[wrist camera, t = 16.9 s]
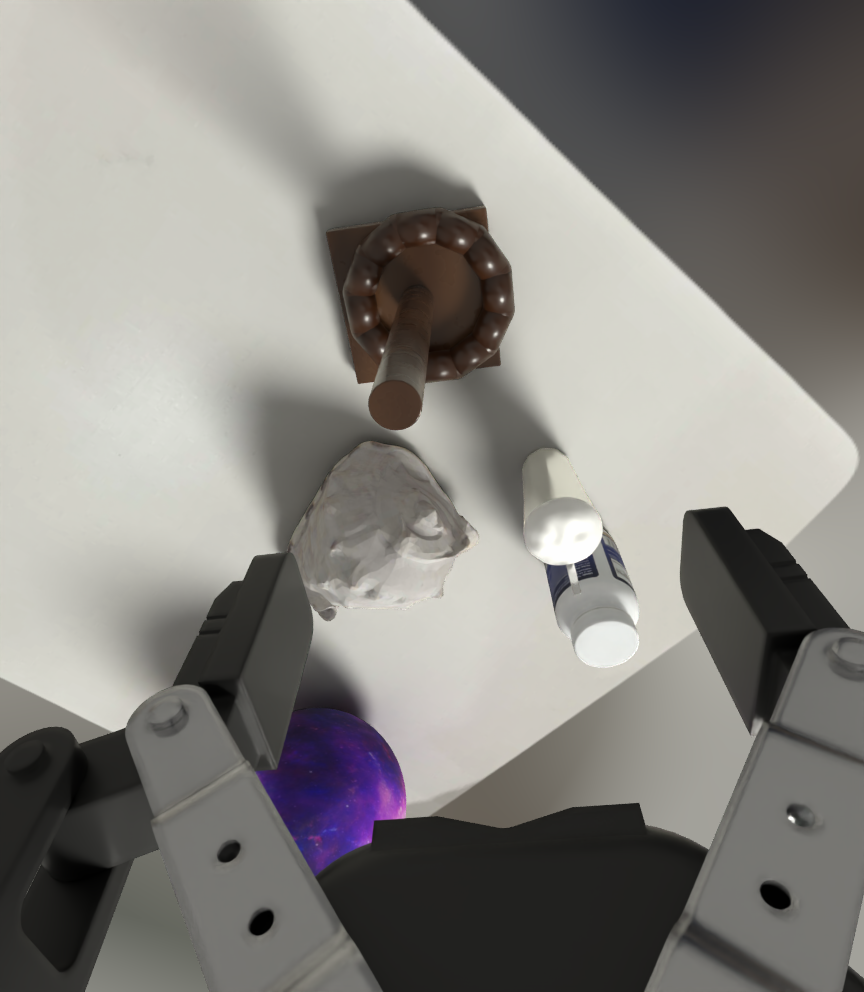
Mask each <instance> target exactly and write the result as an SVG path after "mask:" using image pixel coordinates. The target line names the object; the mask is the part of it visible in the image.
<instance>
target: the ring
mask: <svg viewBox="0 0 864 992" xmlns="http://www.w3.org/2000/svg"><path fill="white" fill-rule="evenodd" d="M430 244H437V245H439V246H442V247H444V248H446V249H449V250H451V251H454V252H456V253H458V254H461V255H463V257H464V258H465V259H466V261H467V262H468V263H469V265H470V266H471V268H472V269H473V270H474V272H475V273H476V274H477V276H478V277H479V279H480V286H481V295H482V304H483V308H482V310H481V313H480V315H479V317H478V320H477V322H476V324H475V327H474V329H473V331H472V333H471V334H470V335H468V336H467V337H466V338H464V339H463V340H462V341H460V342H459V343H458V344H456V345H455V346H454V347H452V348H451V349H449V350H441V351H434V352H429V354H428V362H427V371H426V379H425V383H432V382H439V381H447V380H455V379H460V378H463V377H464V376H466V375H467V374H468V373H470V372H471V371H473V370H474V369H475V368H477V367H478V366H479V365H481V364H482V363H483V362H485V361H486V360H488V359H489V358H490V357H492V356H493V355H494V354H495V353H496V352H497V350H498V348H499V346H500V344H501V342H502V339H503V337H504V335H505V333H506V331H507V329H508V326H509V324H510V322H511V320H512V318H513V315H514V312H515V306H514V293H513V281H512V269H511V265H510V263H509V261H508V260H507V259H506V257H505V256H504V254H503V253H502V251H501V250H500V249H499V247H498V246H497V244H496V243H495V241H494V240H493V238H492V237H491V236H490V234H489V233H488V231H487V230H486V229H485V227H483V226H482V225H480V224H478V223H476V222H474V221H472V220H469V219H467V218H465V217H462V216H460V215H458V214H455V213H453V212H451V211H449V210H446V209H444V208H441V207H433V208H427V209H421V210H414V211H408V212H402V213H396V214H393V215H391V216H390V217H388V218H387V219H386V220H385V221H384V222H383V223H381V224H380V225H379V226H378V227H377V228H376V229H375V230H374V231H372V232H371V233H370V234H369V235H368V236H367V237H366V238H364V239H363V240H362V241H361V242H360V243H359V244H358V245H357V247H356V249H355V252H354V255H353V258H352V261H351V264H350V267H349V271H348V274H347V277H346V280H345V283H344V286H343V297H344V301H345V306H346V311H347V316H348V320H349V325H350V330H351V333H352V336H353V337H354V339H355V340H356V341H357V342H358V343H359V344H360V346H361V347H362V348H363V349H364V350H365V352H366V353H367V354H368V355H369V356H370V357H371V359H372V360H373V361H374V362H375V363H376V364H377V366H378V367H379V365H380V362H381V359H382V355H383V352H384V349H385V346H386V343H387V340H388V336H389V331H388V330H387V329H386V328H385V327H384V325H383V324H382V323H381V322H380V317H379V312H378V307H377V301H376V296H375V293H376V290H377V287H378V284H379V281H380V278H381V275H382V272H383V269H384V267H385V266H386V265H387V264H388V263H389V262H391V261H392V260H393V259H394V258H395V257H397V256H398V255H399V254H400V253H401V252H402V251H404V250H405V249H406V248H411V247H417V246H424V245H430Z"/></svg>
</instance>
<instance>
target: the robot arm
mask: <svg viewBox="0 0 864 992" xmlns="http://www.w3.org/2000/svg"><path fill="white" fill-rule="evenodd" d="M680 583H681V590H682V594H683V598H684V601H685V603H686V606H687V608H688V610H689V612H690V614H691V616H692V618H693V620H694V622H695V624H696V626H697V628H698V630H699V632H700V634H701V636H702V638H703V640H704V642H705V644H706V646H707V648H708V650H709V652H710V654H711V656H712V658H713V660H714V663H715V664H716V666H717V669H718V671H719V672H720V674H721V677H722V679H723V681H724V683H725V685H726V687H727V689H728V691H729V693H730V695H731V697H732V699H733V701H734V703H735V705H736V707H737V709H738V711H739V713H740V715H741V717H742V719H743V721H744V723H745V725H746V727H747V729H748V731H749V733H750V735H751V736H756V739H755V741H754V743H753V746H752V748H751V750H750V753H749V755H748V758H747V760H746V762H745V765H744V767H743V770H742V772H741V774H740V777H739V779H738V782H737V784H736V786H735V789H734V791H733V794H732V796H731V798H730V801H729V803H728V806H727V808H726V810H725V813H724V815H723V818H722V820H721V822H720V825H719V827H718V829H717V832H716V834H715V837H714V839H713V841H712V844H711V846H710V849H709V850H708V849H707V848H705V847H703V846H701V845H700V844H698V843H696V842H694V841H692V840H690V839H688V838H686V837H683V836H681V835H679V834H676V833H674V832H670V831H667V830H664V829H661V828H657V827H653V826H648V825H645V823H644V819H643V815H642V812H641V808H640V804H639V803H631V804H616V805H602V806H587V807H572V808H569V809H566V810H563V811H560V812H556V813H553V814H550V815H547V816H544V817H541V818H538V819H535V820H532V821H529V822H526V823H523V824H520V825H517V826H514V827H510V828H496V827H491V826H486V825H480V824H475V823H470V822H464V821H459V820H454V819H449V818H444V817H438V816H435V817H419V818H404V819H389V820H374V824H373V833H372V843H369V844H366V845H363V846H361V847H359V848H356V849H354V850H352V851H350V852H348V853H346V854H345V855H343V856H341V857H340V858H338V859H337V860H335V861H333V862H332V863H331V864H329V865H328V866H327V867H326V868H324V869H323V870H322V871H320V872H319V873H318V874H317V875H316V876H314V874H313V872H312V871H311V869H310V867H309V865H308V864H307V862H306V860H305V858H304V857H303V855H302V853H301V851H300V850H299V848H298V846H297V844H296V843H295V841H294V839H293V837H292V836H291V834H290V832H289V830H288V829H287V827H286V825H285V823H284V822H283V820H282V818H281V816H280V815H279V813H278V811H277V809H276V808H275V806H274V804H273V802H272V801H271V799H270V797H269V795H268V794H267V792H266V790H265V788H264V787H263V785H262V783H261V781H260V780H259V778H258V776H257V774H256V773H255V772H256V771H264V770H277V768H278V764H279V760H280V756H281V753H282V749H283V745H284V741H285V738H286V734H287V730H288V726H289V723H290V719H291V715H292V711H293V708H294V704H295V700H296V696H297V693H298V689H299V685H300V681H301V678H302V674H303V670H304V666H305V662H306V659H307V655H308V651H309V647H310V644H311V640H312V635H313V616H312V610H311V606H310V603H309V600H308V597H307V593H306V590H305V587H304V584H303V580H302V577H301V574H300V571H299V567H298V564H297V561H296V558H295V556H294V555H293V553H291V552H285V553H276V554H267V555H257V556H255V557H254V558H253V560H252V562H251V564H250V566H249V569H248V571H247V573H246V575H245V578H244V580H243V581H234V582H232V583H231V584H230V585H229V586H228V587H227V588H226V589H225V590H224V591H223V592H222V593H221V594H220V595H219V596H217V597H216V598H215V600H214V602H213V604H212V606H211V608H210V610H209V612H208V615H207V620H205V621H204V623H203V625H202V627H201V629H200V631H199V635H198V636H197V637H196V639H195V641H194V643H193V645H192V647H191V649H190V651H189V653H188V655H187V657H186V659H185V661H184V663H183V665H182V667H181V669H180V671H179V673H178V675H177V678H176V680H175V682H174V684H173V686H172V687H170V688H167V689H165V690H163V691H160V692H158V693H156V694H155V695H153V696H151V697H150V698H149V699H147V700H146V701H145V702H143V703H142V704H141V705H140V706H139V707H138V708H137V709H136V710H135V712H134V713H133V714H132V716H131V717H130V719H129V721H128V723H127V726H126V728H124V729H121V730H119V731H116V732H113V733H110V734H107V735H104V736H101V737H98V738H95V739H92V740H89V741H86V742H83V743H80V744H79V743H78V742H77V740H76V739H75V737H74V735H73V734H72V733H71V732H70V731H69V730H68V729H65V728H62V727H48V728H43V729H40V730H36V731H34V732H31V733H29V734H27V735H25V736H23V737H21V738H19V739H18V740H16V741H15V742H13V743H12V744H10V745H9V746H8V747H6V748H5V749H4V750H3V751H2V752H1V753H0V992H85V989H86V987H87V984H88V981H89V979H90V976H91V974H92V971H93V968H94V965H95V963H96V960H97V957H98V955H99V952H100V949H101V946H102V944H103V941H104V939H105V936H106V933H107V930H108V928H109V925H110V922H111V920H112V917H113V914H114V912H115V909H116V906H117V903H118V901H119V898H120V896H121V893H122V890H123V887H124V885H125V882H126V879H127V876H128V874H129V871H130V869H131V866H132V863H133V861H134V859H135V858H137V857H140V856H142V855H145V854H147V853H150V852H153V851H156V850H158V849H159V850H160V852H161V855H162V858H163V861H164V864H165V867H166V870H167V872H168V875H169V878H170V881H171V884H172V887H173V889H174V892H175V895H176V898H177V901H178V904H179V907H180V909H181V912H182V915H183V918H184V921H185V924H186V926H187V929H188V932H189V935H190V938H191V941H192V943H193V946H194V949H195V952H196V955H197V958H198V961H199V963H200V966H201V969H202V972H203V975H204V978H205V980H206V983H207V986H208V989H209V992H864V978H863V977H861V976H860V975H859V974H858V973H857V972H855V971H854V970H853V969H852V968H851V967H850V966H848V964H849V959H850V954H851V950H852V945H853V941H854V936H855V932H856V927H857V922H858V918H859V913H860V909H861V904H862V899H863V895H864V632H861V631H857V630H854V629H850V628H849V627H848V625H847V624H846V623H845V622H844V621H843V619H842V618H841V617H840V615H839V614H838V613H837V612H836V610H835V609H834V608H833V606H832V605H831V604H830V603H829V601H828V600H827V599H826V598H825V596H824V595H823V594H822V593H821V591H820V590H819V589H818V588H817V586H816V585H815V584H814V583H813V581H812V580H811V579H810V578H809V579H808V577H807V574H806V572H805V571H804V570H803V569H802V567H801V566H800V565H799V564H796V560H795V559H794V557H793V556H792V555H791V554H790V552H789V551H788V550H787V549H786V547H785V546H784V545H783V544H782V542H780V541H778V540H777V539H775V538H773V537H772V536H770V535H768V534H767V533H765V532H763V531H762V530H760V529H750V530H745V529H744V528H743V527H742V525H741V524H740V523H739V521H738V520H737V518H736V517H735V516H734V514H733V513H732V512H731V510H730V509H729V508H728V507H717V508H708V509H699V510H689V511H686V513H685V515H684V519H683V532H682V548H681V563H680ZM40 865H41V866H40ZM39 867H40V868H39ZM38 869H39V870H38ZM37 871H38V872H37ZM36 873H37V874H36ZM35 875H36V876H35ZM34 877H35V878H34ZM33 879H34V880H33ZM32 881H33V882H32ZM31 883H32V884H31ZM30 885H31V886H30ZM29 887H30V888H29ZM28 889H29V890H28ZM27 891H28V892H27ZM26 893H27V894H26Z"/></svg>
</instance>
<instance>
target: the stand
mask: <svg viewBox="0 0 864 992" xmlns="http://www.w3.org/2000/svg"><path fill="white" fill-rule="evenodd" d="M451 212H453V213H455V214H458V215H460V216H462V217H465V218H467V219H469V220H472V221H474V222H476V223H478V224H480V225H482V226H483V227H485V229H486V230H487V231H488V223H487V212H486V207H485V206H477V207H471V208H464V209H458V210H451ZM383 222H384V221H380V222H374V223H367V224H361V225H354V226H348V227H341V228H335V229H330V230H328V231H327V232H326V236H327V241H328V245H329V250H330V255H331V259H332V264H333V269H334V274H335V278H336V283H337V288H338V292H339V297H340V302H341V306H342V311H343V316H344V320H345V325H346V330H347V335H348V339H349V344H350V349H351V353H352V358H353V363H354V367H355V372H356V377H357V382H358V384H361V383H369V382H374V384H373V387H372V390H371V393H370V396H369V401H368V406H369V411H370V414H371V416H372V417H373V419H374V420H375V421H376V422H377V423H378V424H379V425H381V426H382V427H384V428H387V429H390V430H402V429H406V428H408V427H410V426H412V425H413V424H414V423H415V422H416V421H417V420H418V419H419V417H420V415H421V412H422V405H423V397H424V388H425V379H426V371H427V362H428V354H429V352H434V351H441V350H449V349H451V348H452V347H454V346H455V345H456V344H458V343H459V342H460V341H462V340H463V339H464V338H466V337H467V336H468V335H470V334H471V333H472V331H473V329H474V327H475V324H476V322H477V320H478V317H479V315H480V313H481V310H482V308H483V304H482V295H481V286H480V279H479V277H478V276H477V274H476V273H475V272H474V270H473V269H472V268H471V266H470V265H469V263H468V262H467V261H466V259H465V258H464V257H463V255H461V254H458V253H456V252H454V251H451V250H449V249H446V248H444V247H442V246H439V245H437V244H430V245H424V246H417V247H411V248H406V249H405V250H404V251H402V252H401V253H400V254H399V255H398V256H397V257H395V258H394V259H393V260H392V261H391V262H389V263H388V264H387V265H386V266H385V267H384V269H383V272H382V275H381V278H380V281H379V284H378V287H377V290H376V293H375V296H376V301H377V307H378V312H379V317H380V322H381V323H382V324H383V325H384V327H385V328H386V329H387V330H388V331H389V336H388V340H387V343H386V346H385V349H384V352H383V355H382V359H381V362H380V365H379V367H378V366H377V364H376V363H375V362H374V361H373V360H372V359H371V357H370V356H369V355H368V354H367V353H366V352H365V350H364V349H363V348H362V347H361V346H360V344H359V343H358V342H357V341H356V340H355V339H354V337H353V336H352V333H351V330H350V325H349V320H348V316H347V311H346V306H345V301H344V297H343V286H344V283H345V280H346V277H347V274H348V271H349V267H350V264H351V261H352V258H353V255H354V252H355V249H356V247H357V245H358V244H359V243H360V242H361V241H362V240H363V239H364V238H366V237H367V236H368V235H369V234H370V233H371V232H372V231H374V230H375V229H376V228H377V227H378V226H379V225H380V224H381V223H383ZM500 365H501V361H500V350H499V348H498V350H497V352H496V353H495V354H494V355H493V356H492V357H490V358H489V359H488V360H486V361H485V362H483V363H482V364H481V365H479V366H478V367H477V368H485V367H493V366H500ZM477 368H475V369H477Z"/></svg>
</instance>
